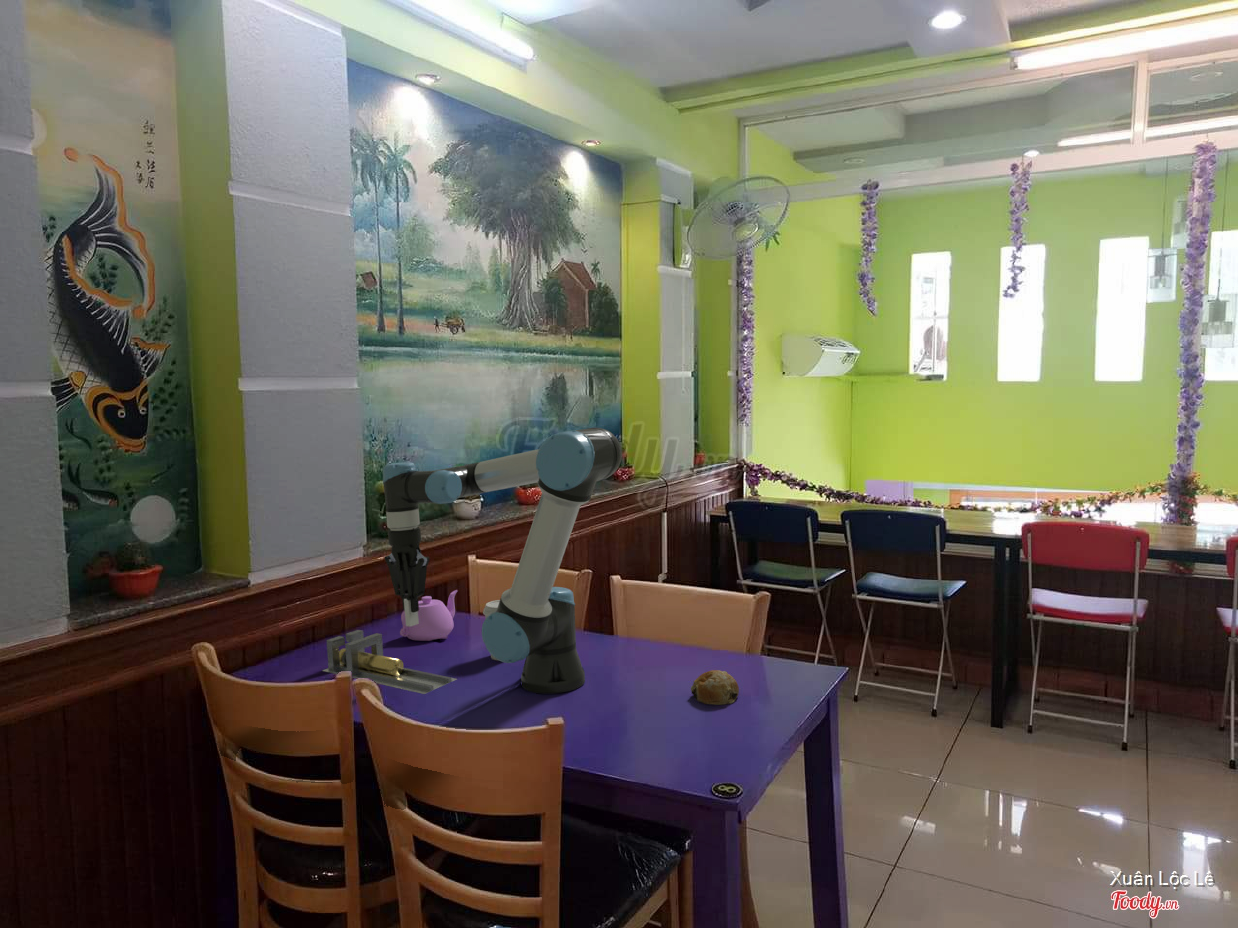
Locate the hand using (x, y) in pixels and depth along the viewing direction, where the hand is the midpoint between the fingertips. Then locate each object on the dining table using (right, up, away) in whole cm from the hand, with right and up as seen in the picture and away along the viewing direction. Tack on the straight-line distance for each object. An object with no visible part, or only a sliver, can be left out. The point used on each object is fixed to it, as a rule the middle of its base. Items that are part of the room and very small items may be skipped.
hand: (412, 624), depth 206 cm
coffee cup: (+20, -13, +18) cm, 29 cm away
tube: (-14, -13, +10) cm, 22 cm away
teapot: (-4, -11, +40) cm, 42 cm away
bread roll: (+71, -14, -14) cm, 74 cm away
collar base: (-8, -15, +7) cm, 18 cm away
